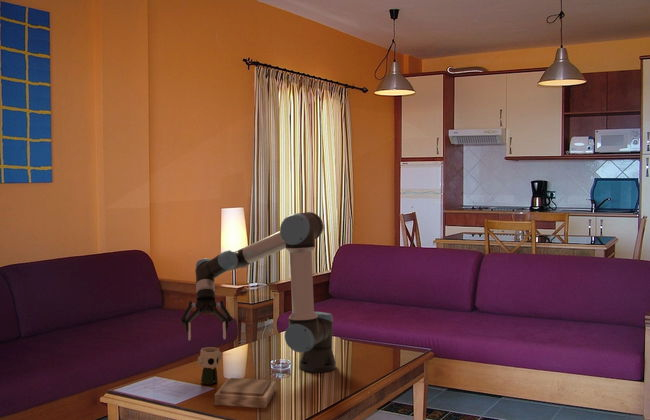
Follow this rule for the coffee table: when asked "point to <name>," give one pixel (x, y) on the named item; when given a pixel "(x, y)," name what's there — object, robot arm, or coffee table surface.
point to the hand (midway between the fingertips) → (207, 338)
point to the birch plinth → (245, 392)
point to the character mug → (209, 364)
